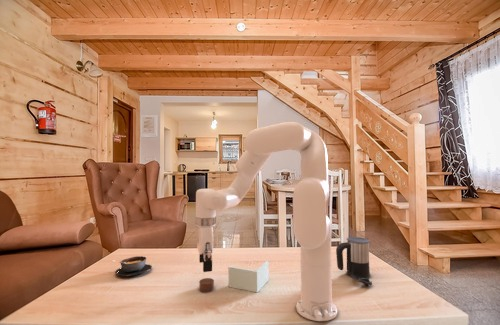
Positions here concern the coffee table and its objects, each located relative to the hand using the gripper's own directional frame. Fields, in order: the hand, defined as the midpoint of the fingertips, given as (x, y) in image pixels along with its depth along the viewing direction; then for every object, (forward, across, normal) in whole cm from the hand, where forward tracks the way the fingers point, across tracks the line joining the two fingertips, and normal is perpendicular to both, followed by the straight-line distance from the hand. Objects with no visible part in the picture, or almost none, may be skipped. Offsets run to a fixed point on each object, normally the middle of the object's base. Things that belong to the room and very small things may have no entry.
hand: (205, 266), depth 101 cm
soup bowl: (+9, -27, -28) cm, 40 cm away
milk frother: (+8, +13, +61) cm, 63 cm away
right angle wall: (+8, +1, +17) cm, 19 cm away
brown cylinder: (+8, 0, 0) cm, 8 cm away
